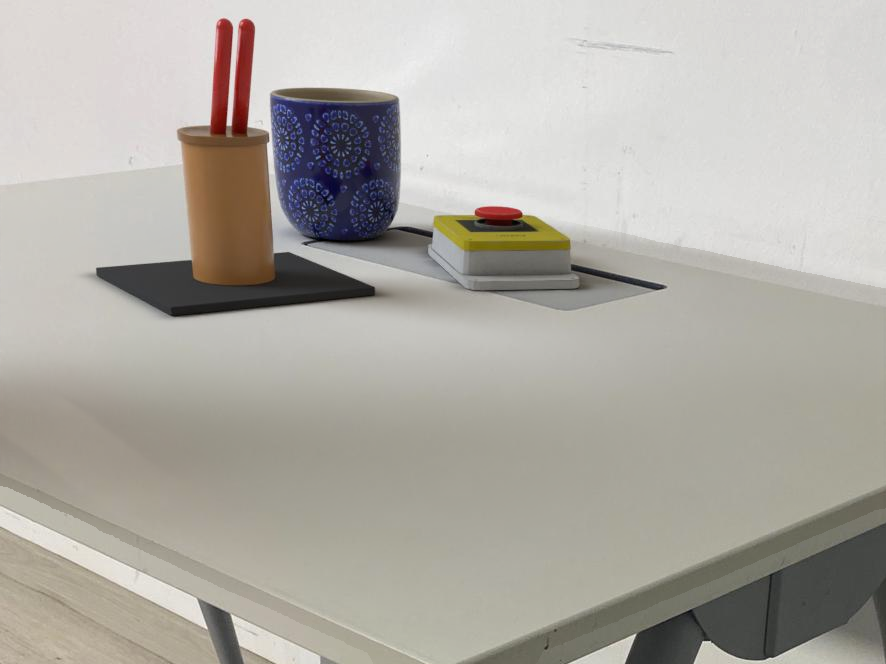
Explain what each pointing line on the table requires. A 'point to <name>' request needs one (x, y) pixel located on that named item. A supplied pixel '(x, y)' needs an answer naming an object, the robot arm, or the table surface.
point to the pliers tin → (229, 176)
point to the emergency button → (502, 251)
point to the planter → (337, 160)
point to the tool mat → (186, 295)
